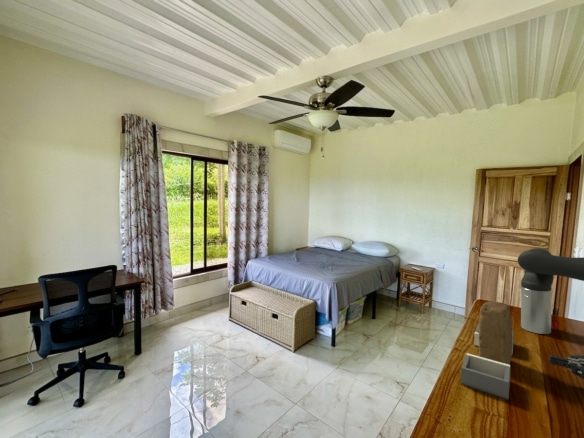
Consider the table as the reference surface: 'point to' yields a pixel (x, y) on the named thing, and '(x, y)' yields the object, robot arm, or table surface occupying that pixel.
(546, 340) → the table surface
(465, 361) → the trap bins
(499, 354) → the block
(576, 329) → the table surface
